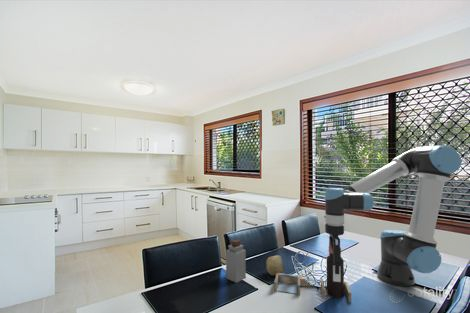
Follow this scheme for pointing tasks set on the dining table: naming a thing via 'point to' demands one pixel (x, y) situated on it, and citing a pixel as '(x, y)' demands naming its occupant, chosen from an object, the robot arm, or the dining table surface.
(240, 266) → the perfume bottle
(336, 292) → the vinegar
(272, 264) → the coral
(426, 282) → the dining table surface
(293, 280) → the comb rack
